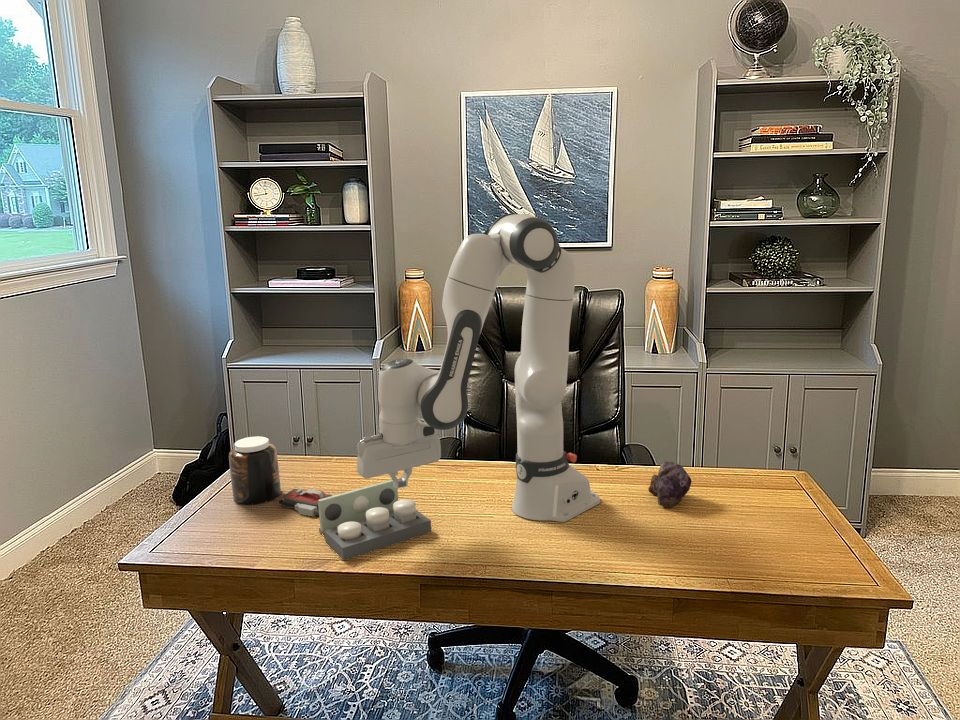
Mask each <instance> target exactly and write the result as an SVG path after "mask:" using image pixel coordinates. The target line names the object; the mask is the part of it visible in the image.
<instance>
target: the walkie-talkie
mask: <svg viewBox="0 0 960 720" xmlns="http://www.w3.org/2000/svg"><path fill="white" fill-rule="evenodd" d="M330 496H333V495H332V494H328V493H325V492H324V491H323V490H317V489H313V488H309V489H307V490H306V489H303V488H293V489H291V490H289V491H288V492H286V493H285V494H283V496H282V499H279V500H278V501H277V502H278V504H279V505H280V506H283V507H284V508H287V507H289V509H292V508H294V511H296V512H297V513H298V512H299V513H298V514H299V515H301V514H303V515H302V516H306V515H308V517H310V516H313V517H314V516H319V506H318V500H319V499H323V498H327V497H330Z"/></svg>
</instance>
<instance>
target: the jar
mask: <svg viewBox="0 0 960 720" xmlns="http://www.w3.org/2000/svg"><path fill="white" fill-rule="evenodd" d="M228 461H229V463H228V464H229V473H230V483H231V490H232V498H233V501H234V502H235V503H237V504H240V505H249V506H250V505H252V506H253V505H260V504H264V503H265V504H266V503H268V502H271V501H273V500H275V499H277V498H278V497H279V496H280V495H281V491H282V489H281V478H280V470H279V460H278V452H277V447H276V445H274V444H273V443H270V439H269V438H268V437H265V436H257V435H255V436H247V437H244V438H241V439H238V440H236V441H235V442H234V447H233V448H232V449H231V450H230V451H229V453H228Z"/></svg>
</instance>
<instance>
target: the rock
mask: <svg viewBox="0 0 960 720" xmlns="http://www.w3.org/2000/svg"><path fill="white" fill-rule="evenodd" d="M691 485H692V478H691V476H690V475H689V474H688V472H687V471H686V469H684V466H681V464H679V463H675V462H674V461H668V460H666V461H664V462H662V463H661V465H660V467H659V468H658V474H653V475H652V476H651V479H650V484H649V486H648V492H649V493H650V494H652V495H653V496H654V495H655V496H656V498H657V502H658V505H659V506H661V507H663V508H669V509H670V508H672V507H674V506H675V505H676V504H677V503H678V502H681V501H682V500H683V498H684V497H685V495H687V493H688V492H690V488H691Z"/></svg>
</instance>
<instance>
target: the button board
mask: <svg viewBox="0 0 960 720" xmlns="http://www.w3.org/2000/svg"><path fill="white" fill-rule="evenodd" d="M431 521H432V520H431V519H430V518H428V517H427V516H425V515H424V514H423V513H421V512H420V511H418V510H417V509H416V519H415V520H412V521H409V522H406V523H402V524H400V523H399V522H397V521H396V520H395V519H394V511H393V510H392V511H389V528H386V529H383V530H380V531H377V532H374V533H373V532H372V531H371V530H369V529H368V528H367V522H366V519H362V520H359V521H356V522H358V523H360V524H361V530H362V534H361V537H358V538H355V539H351V540H348V541H345V542H344V541H343V540H342V539H341V538H339V537H338V527H336V528H332V529H329V530H326V531H324V533H325V537H324V539H325V540H324V542H326V543H327V544H328V545H329V546H330V547H331V548H332V549H333V550H334V551H335V552H336V553H337V554H338V555H339V556H340V557H341V558H342V559H343V560H344V561H346V560H347V561H348V560H350V559H352V558H353V557H354V558H356V556H357V557H359V555H360V556H362V555H365V553H366V554H368V552H369V553H372V552H374V550H375V551H377V549H378V550H381V549H384V548H387V547H389V546H393V545H396V544H399V543H403V542H406V541H408V540H411V538H412V539H414V538H417V537H419V536H420V537H421V536H424V535H426V534H430V533H432V522H431ZM326 543H325V544H326ZM327 544H326V545H327ZM328 545H327V546H328ZM329 546H328V547H329ZM330 547H329V548H330ZM331 548H330V549H331ZM380 548H381V549H380ZM332 549H331V550H332ZM333 550H332V551H333ZM334 551H333V552H334ZM371 551H372V552H371ZM335 552H334V553H335ZM336 553H335V554H336ZM337 554H336V555H337ZM338 555H337V556H338ZM339 556H338V557H339ZM340 557H339V558H340ZM341 558H340V559H341ZM354 558H353V559H354ZM342 559H341V560H342ZM343 560H342V561H343Z"/></svg>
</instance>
